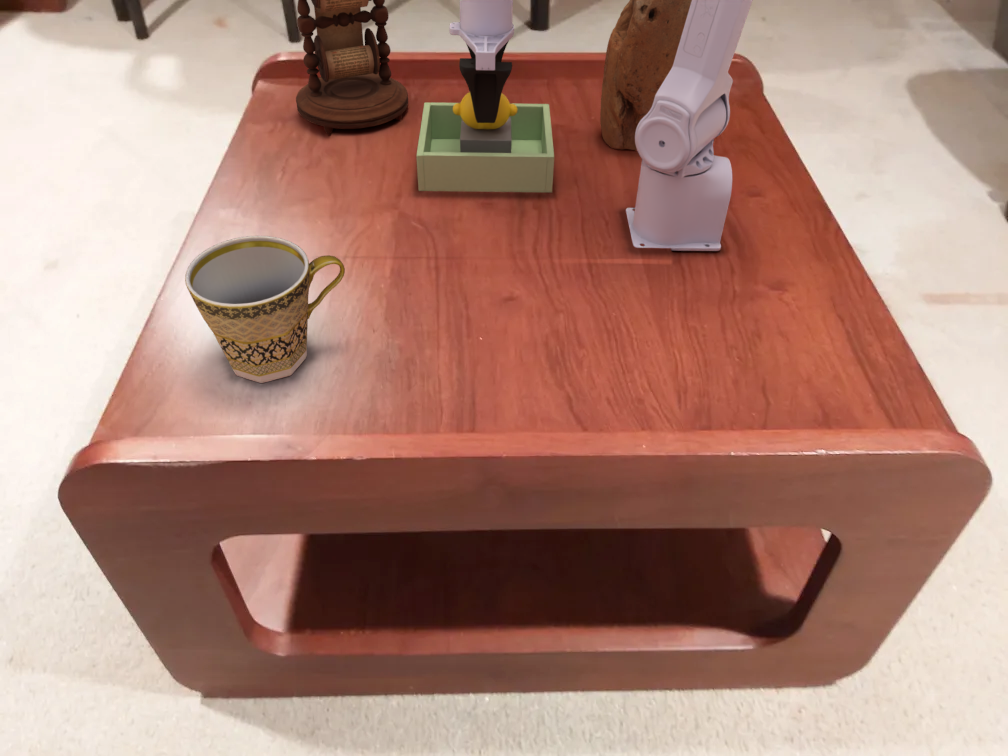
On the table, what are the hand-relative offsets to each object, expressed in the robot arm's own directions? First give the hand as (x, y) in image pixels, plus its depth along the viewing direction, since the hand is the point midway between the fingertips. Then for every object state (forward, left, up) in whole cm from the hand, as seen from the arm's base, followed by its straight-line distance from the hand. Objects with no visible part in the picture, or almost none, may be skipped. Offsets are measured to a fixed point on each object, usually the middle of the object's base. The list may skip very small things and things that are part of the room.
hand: (486, 106), depth 96 cm
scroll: (+18, -14, -8) cm, 24 cm away
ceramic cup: (+18, +35, -8) cm, 40 cm away
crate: (0, 0, -8) cm, 8 cm away
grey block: (0, 0, -7) cm, 7 cm away
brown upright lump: (-20, -7, -8) cm, 23 cm away
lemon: (0, 0, -3) cm, 3 cm away
